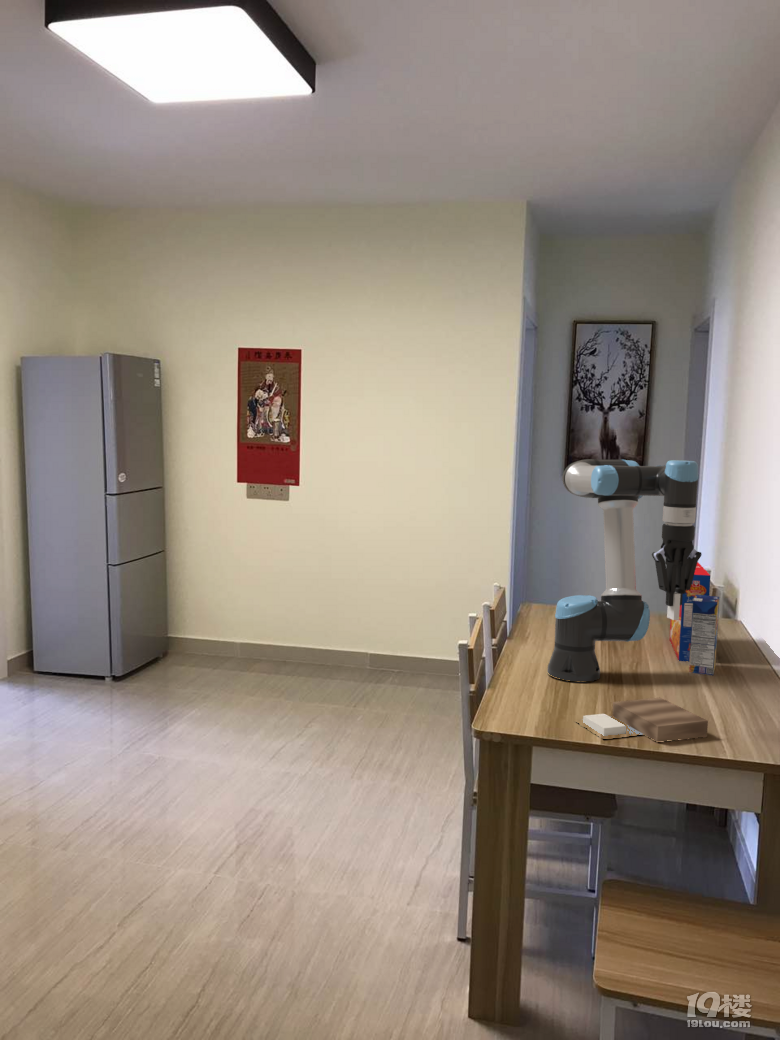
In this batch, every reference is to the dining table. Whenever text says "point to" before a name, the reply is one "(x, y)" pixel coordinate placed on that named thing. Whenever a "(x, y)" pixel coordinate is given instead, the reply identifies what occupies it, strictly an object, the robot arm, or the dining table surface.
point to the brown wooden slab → (660, 719)
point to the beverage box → (704, 634)
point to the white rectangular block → (604, 724)
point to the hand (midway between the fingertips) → (672, 618)
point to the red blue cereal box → (688, 614)
